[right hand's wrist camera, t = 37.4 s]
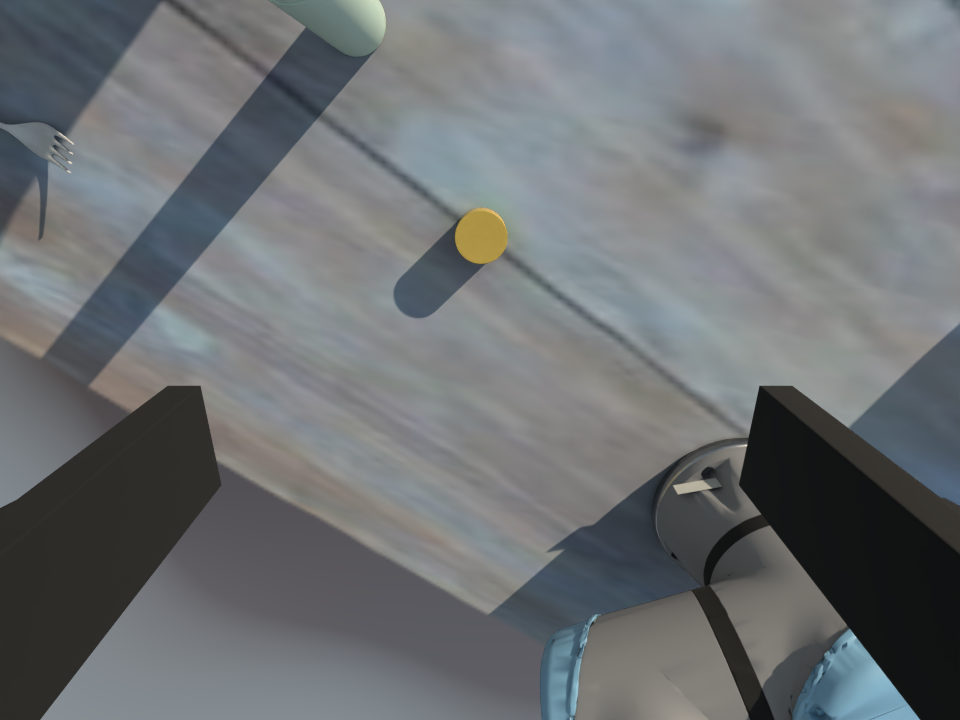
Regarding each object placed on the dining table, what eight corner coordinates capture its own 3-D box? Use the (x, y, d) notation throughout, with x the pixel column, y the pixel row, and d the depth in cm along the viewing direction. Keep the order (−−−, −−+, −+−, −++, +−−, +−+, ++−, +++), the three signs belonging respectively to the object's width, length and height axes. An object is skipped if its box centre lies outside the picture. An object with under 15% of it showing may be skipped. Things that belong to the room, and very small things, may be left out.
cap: (448, 246, 44) (446, 251, 42) (467, 199, 42) (467, 201, 40) (493, 266, 44) (494, 272, 42) (514, 220, 43) (516, 223, 41)
